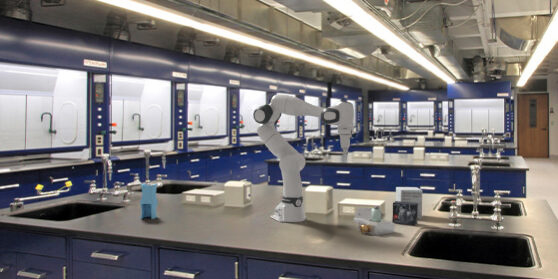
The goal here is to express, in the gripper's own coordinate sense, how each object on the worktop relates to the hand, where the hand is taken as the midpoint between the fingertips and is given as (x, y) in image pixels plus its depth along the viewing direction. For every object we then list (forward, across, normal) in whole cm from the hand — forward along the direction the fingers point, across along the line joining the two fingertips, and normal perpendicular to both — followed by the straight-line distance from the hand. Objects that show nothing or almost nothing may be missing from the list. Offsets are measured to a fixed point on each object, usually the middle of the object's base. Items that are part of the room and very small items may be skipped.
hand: (345, 156), depth 249 cm
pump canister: (+34, +7, +17) cm, 39 cm away
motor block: (+39, +8, +16) cm, 43 cm away
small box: (+39, -18, +33) cm, 54 cm away
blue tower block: (+39, +1, -116) cm, 122 cm away
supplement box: (+39, -38, +37) cm, 66 cm away
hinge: (+40, -14, +13) cm, 44 cm away
